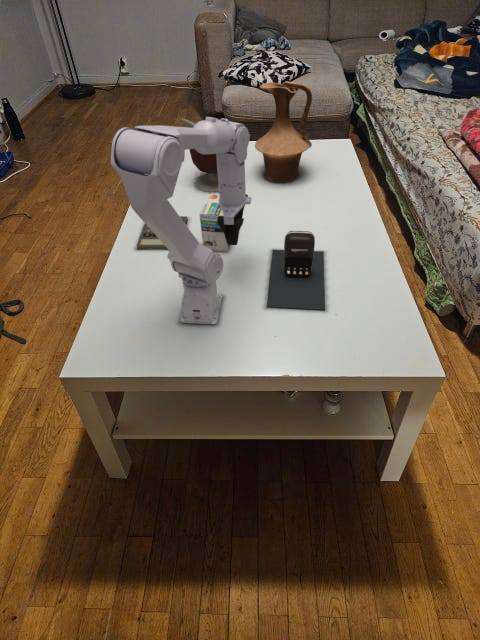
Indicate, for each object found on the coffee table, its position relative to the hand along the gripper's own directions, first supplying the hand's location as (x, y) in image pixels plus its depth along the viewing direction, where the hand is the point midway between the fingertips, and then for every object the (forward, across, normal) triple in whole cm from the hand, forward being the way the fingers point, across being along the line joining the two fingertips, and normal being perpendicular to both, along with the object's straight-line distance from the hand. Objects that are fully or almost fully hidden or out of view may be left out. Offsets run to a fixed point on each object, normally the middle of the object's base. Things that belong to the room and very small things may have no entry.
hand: (234, 234), depth 106 cm
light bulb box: (+11, +13, +6) cm, 18 cm away
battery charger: (+10, -1, -15) cm, 18 cm away
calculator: (+10, +15, +22) cm, 29 cm away
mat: (+10, -2, -15) cm, 18 cm away
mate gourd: (+11, +45, +13) cm, 48 cm away
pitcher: (+11, +51, -9) cm, 53 cm away
